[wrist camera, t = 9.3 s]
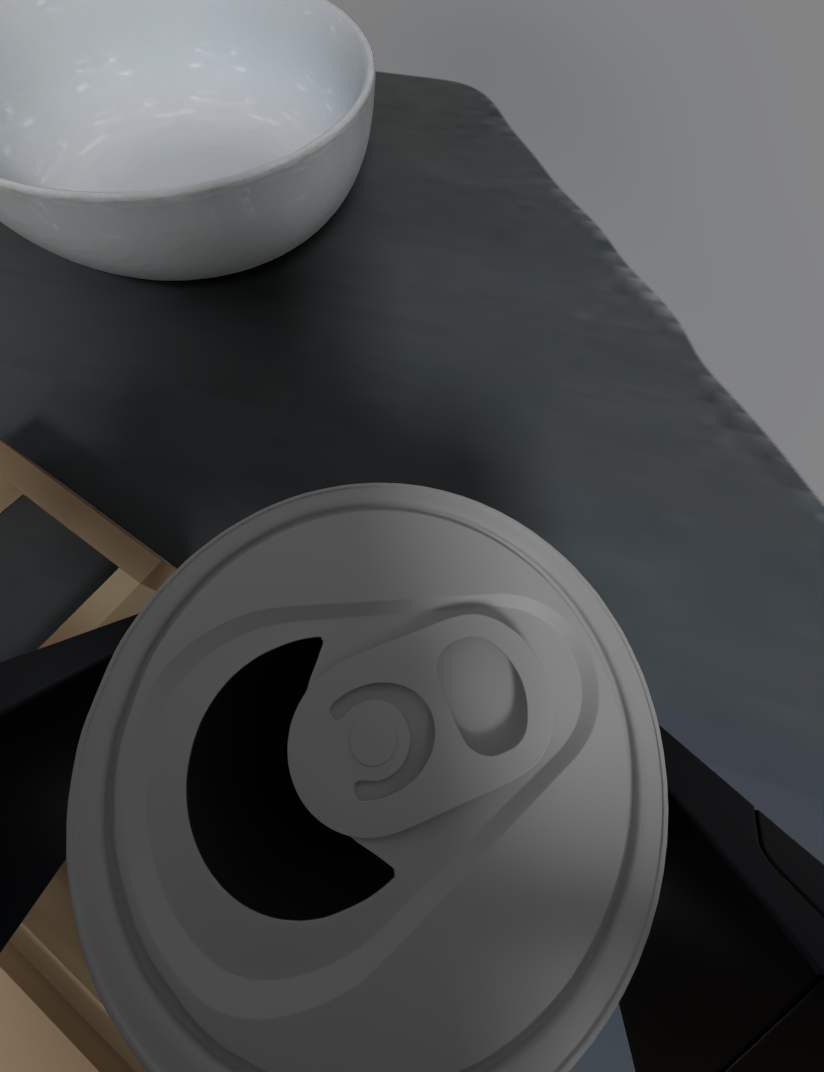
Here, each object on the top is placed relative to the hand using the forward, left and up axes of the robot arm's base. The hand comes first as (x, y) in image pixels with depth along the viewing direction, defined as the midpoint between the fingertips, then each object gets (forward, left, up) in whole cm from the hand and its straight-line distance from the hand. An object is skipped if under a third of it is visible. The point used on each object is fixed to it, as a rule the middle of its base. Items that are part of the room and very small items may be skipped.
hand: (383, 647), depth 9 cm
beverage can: (-1, -1, -8) cm, 8 cm away
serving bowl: (+16, +24, -8) cm, 30 cm away
